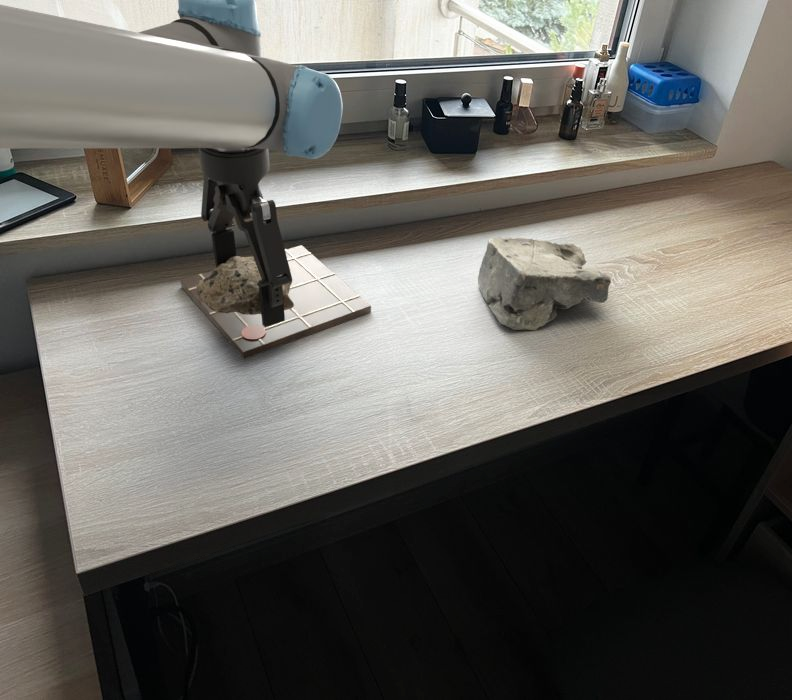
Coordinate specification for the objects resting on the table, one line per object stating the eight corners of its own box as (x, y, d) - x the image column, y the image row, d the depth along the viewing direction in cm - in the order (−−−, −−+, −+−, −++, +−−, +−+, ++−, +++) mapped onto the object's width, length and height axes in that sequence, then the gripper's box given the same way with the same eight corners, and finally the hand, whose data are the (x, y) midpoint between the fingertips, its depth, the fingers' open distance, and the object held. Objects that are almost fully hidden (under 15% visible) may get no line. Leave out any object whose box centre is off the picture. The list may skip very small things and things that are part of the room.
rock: (200, 278, 97) (196, 250, 94) (289, 273, 100) (287, 246, 97) (198, 326, 89) (194, 296, 86) (296, 319, 92) (294, 290, 89)
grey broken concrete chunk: (609, 332, 109) (623, 270, 104) (498, 333, 104) (508, 268, 100) (570, 290, 122) (581, 234, 118) (470, 289, 118) (478, 230, 113)
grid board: (243, 359, 95) (243, 351, 94) (181, 287, 106) (179, 279, 106) (371, 312, 106) (371, 304, 105) (301, 251, 117) (301, 243, 116)
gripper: (318, 174, 76) (323, 336, 89) (217, 98, 90) (234, 248, 103) (252, 190, 72) (268, 357, 85) (156, 107, 86) (183, 262, 99)
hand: (250, 298), depth 94 cm, fingers closed on rock, 12 cm apart
